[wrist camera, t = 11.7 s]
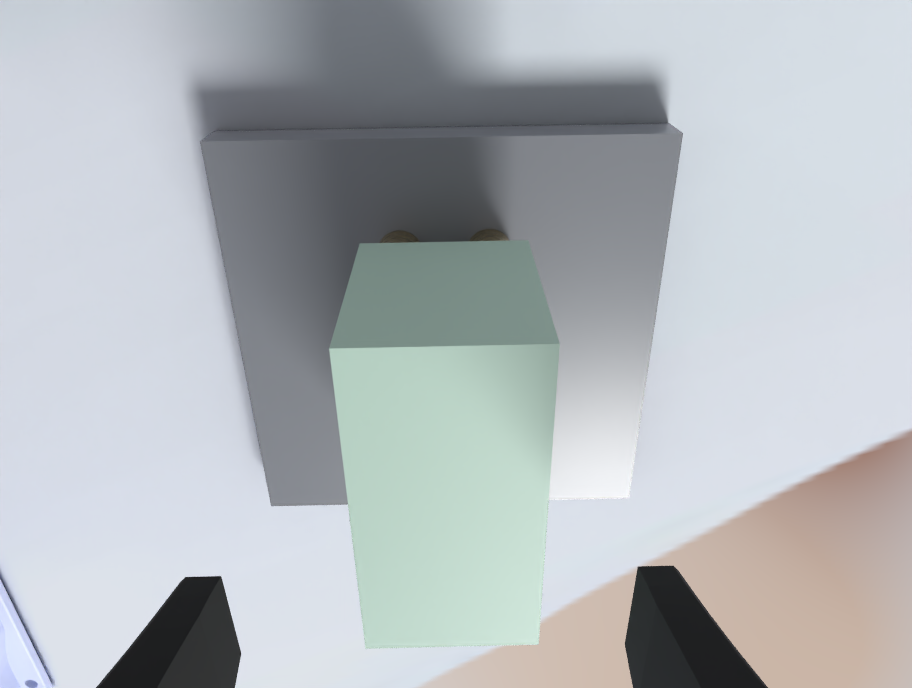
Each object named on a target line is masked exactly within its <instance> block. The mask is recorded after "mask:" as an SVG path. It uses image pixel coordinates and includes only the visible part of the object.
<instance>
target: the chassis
mask: <svg viewBox="0 0 912 688" xmlns="http://www.w3.org/2000/svg"><path fill="white" fill-rule="evenodd" d="M682 136H683V133H682V132H680V131H679V130H678V129H676V128H675V127H674V126H672V125H671V124H669V123H650V124H592V125H534V126H476V127H417V128H359V129H301V130H242V131H214V132H212V133H211V134H210V135H208V136H207V137H206V138H204V139H203V140H202V141H200V144H201V149H202V154H203V159H204V164H205V169H206V174H207V180H208V185H209V190H210V195H211V200H212V205H213V210H214V215H215V220H216V226H217V231H218V236H219V241H220V246H221V251H222V256H223V261H224V267H225V272H226V277H227V282H228V287H229V292H230V297H231V302H232V308H233V313H234V318H235V323H236V328H237V333H238V338H239V343H240V348H241V354H242V359H243V364H244V369H245V374H246V379H247V384H248V389H249V395H250V400H251V405H252V410H253V415H254V420H255V425H256V430H257V435H258V441H259V446H260V451H261V456H262V461H263V466H264V471H265V476H266V482H267V487H268V492H269V497H270V502H271V506H298V505H344V504H348V500H347V492H346V483H345V475H344V467H343V459H342V451H341V442H340V434H339V426H338V418H337V409H336V401H335V393H334V385H333V377H332V368H331V360H330V352H329V347H330V344H331V340H332V337H333V333H334V330H335V327H336V323H337V320H338V316H339V313H340V309H341V306H342V303H343V299H344V296H345V292H346V289H347V285H348V282H349V279H350V275H351V272H352V268H353V265H354V261H355V258H356V254H357V251H358V248H359V244H360V243H408V242H461V241H514V240H528V241H529V244H530V248H531V251H532V254H533V257H534V261H535V264H536V267H537V271H538V274H539V277H540V280H541V284H542V287H543V290H544V293H545V297H546V300H547V303H548V307H549V310H550V313H551V316H552V320H553V323H554V326H555V330H556V333H557V336H558V339H559V343H560V349H559V363H558V377H557V391H556V405H555V419H554V433H553V447H552V462H551V476H550V490H549V500H572V499H618V498H629V494H630V487H631V481H632V474H633V467H634V460H635V454H636V447H637V440H638V433H639V427H640V420H641V413H642V406H643V400H644V393H645V386H646V379H647V373H648V366H649V359H650V352H651V346H652V339H653V332H654V325H655V319H656V312H657V305H658V298H659V292H660V285H661V278H662V271H663V265H664V258H665V251H666V244H667V238H668V231H669V224H670V217H671V211H672V204H673V197H674V190H675V184H676V177H677V170H678V163H679V157H680V150H681V143H682Z"/></svg>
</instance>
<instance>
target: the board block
mask: <svg viewBox="0 0 912 688" xmlns="http://www.w3.org/2000/svg"><path fill="white" fill-rule="evenodd" d="M559 349H560V343H559V339H558V336H557V333H556V330H555V326H554V323H553V320H552V316H551V313H550V310H549V307H548V303H547V300H546V297H545V293H544V290H543V287H542V284H541V280H540V277H539V274H538V271H537V267H536V264H535V261H534V257H533V254H532V251H531V248H530V244H529V241H528V240H514V241H461V242H408V243H360V244H359V248H358V251H357V254H356V258H355V261H354V265H353V268H352V272H351V275H350V279H349V282H348V285H347V289H346V292H345V296H344V299H343V303H342V306H341V309H340V313H339V316H338V320H337V323H336V327H335V330H334V333H333V337H332V340H331V344H330V347H329V352H330V360H331V368H332V377H333V385H334V393H335V401H336V409H337V418H338V426H339V434H340V442H341V451H342V459H343V467H344V475H345V483H346V492H347V500H348V508H349V516H350V525H351V533H352V541H353V549H354V557H355V566H356V574H357V582H358V590H359V599H360V607H361V615H362V623H363V631H364V640H365V648H366V649H371V648H413V647H455V646H497V645H537V644H538V643H539V630H540V616H541V602H542V588H543V574H544V560H545V546H546V532H547V518H548V504H549V490H550V476H551V462H552V447H553V433H554V419H555V405H556V391H557V377H558V363H559Z"/></svg>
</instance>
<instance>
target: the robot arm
mask: <svg viewBox="0 0 912 688" xmlns="http://www.w3.org/2000/svg"><path fill="white" fill-rule="evenodd" d="M625 647H626V653H627V658H628V663H629V669H630V674H631V679H632V684H633V688H768V687H767V686H766V685H765V684H764V682H763V681H762V680H761V679H760V677H759V676H758V675H757V674H756V673H755V671H754V670H753V669H752V668H751V667H750V665H749V664H748V663H747V662H746V660H745V659H744V658H743V657H742V655H741V654H740V653H739V652H738V650H736V648H735V647H734V645H733V644H732V643H731V641H730V640H729V639H728V638H727V636H726V635H725V634H724V632H723V631H722V630H721V628H720V627H719V626H718V625H717V623H716V622H715V621H714V619H713V618H712V617H711V615H710V614H709V613H708V611H707V610H706V608H705V607H704V606H703V604H702V603H701V602H700V600H699V599H698V598H697V596H696V595H695V593H694V592H693V591H692V589H691V588H690V586H689V585H688V584H687V582H686V581H685V579H684V578H683V577H682V575H681V574H680V572H679V571H678V570H677V569H676V568H675V567H674V566H642V567H638V569H637V575H636V581H635V587H634V593H633V599H632V606H631V611H630V617H629V623H628V629H627V635H626V641H625ZM240 657H241V651H240V647H239V643H238V640H237V636H236V632H235V628H234V624H233V620H232V616H231V613H230V609H229V605H228V601H227V597H226V593H225V589H224V586H223V582H222V578H221V576H213V577H185V578H184V579H183V580H182V581H181V582H180V583H179V585H178V586H177V587H176V589H175V590H174V591H173V592H172V594H171V595H170V596H169V598H168V599H167V600H166V601H165V603H164V604H163V605H162V607H161V608H160V609H159V611H158V612H157V613H156V614H155V616H154V617H153V618H152V620H151V621H150V622H149V623H148V625H147V626H146V627H145V629H144V630H143V631H142V632H141V634H140V635H139V636H138V637H137V639H136V640H135V641H134V642H133V644H132V645H131V646H130V647H129V649H128V650H127V651H126V652H125V654H124V655H123V656H122V657H121V658H120V660H119V661H118V662H117V663H116V664H115V666H114V667H113V668H112V669H111V670H110V672H109V673H108V674H107V675H106V676H105V678H104V679H103V680H102V681H101V682H100V684H99V685H98V686H97V687H96V688H235V683H236V678H237V673H238V667H239V662H240ZM0 688H53V686H52V684H51V682H50V680H49V677H48V675H47V673H46V671H45V669H44V667H43V665H42V663H41V661H40V659H39V657H38V655H37V653H36V651H35V649H34V647H33V645H32V643H31V641H30V639H29V637H28V635H27V633H26V631H25V629H24V627H23V625H22V622H21V620H20V618H19V616H18V614H17V612H16V610H15V608H14V606H13V604H12V602H11V600H10V598H9V596H8V594H7V592H6V590H5V588H4V586H3V584H2V582H1V580H0Z"/></svg>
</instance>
